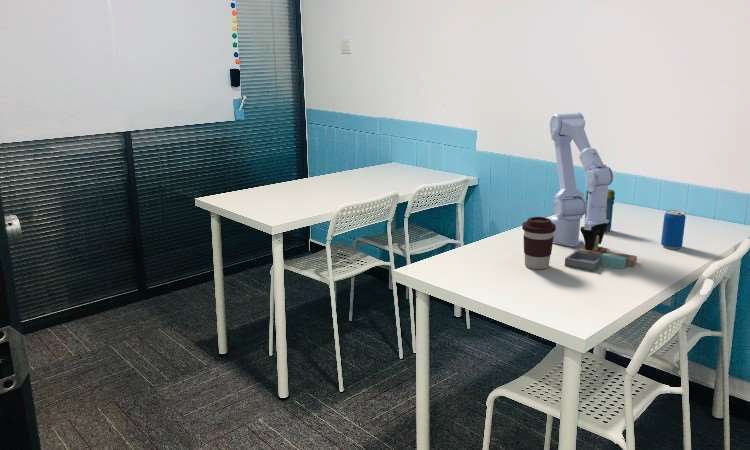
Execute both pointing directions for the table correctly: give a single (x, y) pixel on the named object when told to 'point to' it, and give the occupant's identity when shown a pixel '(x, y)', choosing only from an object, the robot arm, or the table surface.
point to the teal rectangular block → (613, 261)
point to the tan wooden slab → (629, 260)
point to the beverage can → (673, 229)
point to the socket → (600, 251)
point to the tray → (583, 261)
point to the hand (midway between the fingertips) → (593, 246)
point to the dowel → (596, 244)
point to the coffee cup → (538, 242)
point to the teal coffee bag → (607, 207)
